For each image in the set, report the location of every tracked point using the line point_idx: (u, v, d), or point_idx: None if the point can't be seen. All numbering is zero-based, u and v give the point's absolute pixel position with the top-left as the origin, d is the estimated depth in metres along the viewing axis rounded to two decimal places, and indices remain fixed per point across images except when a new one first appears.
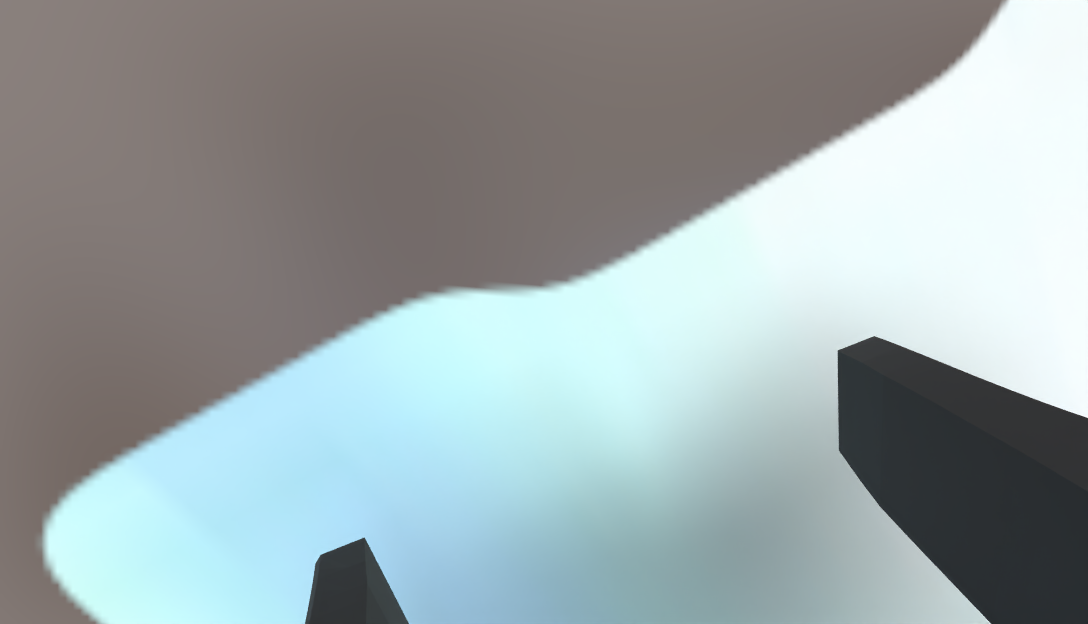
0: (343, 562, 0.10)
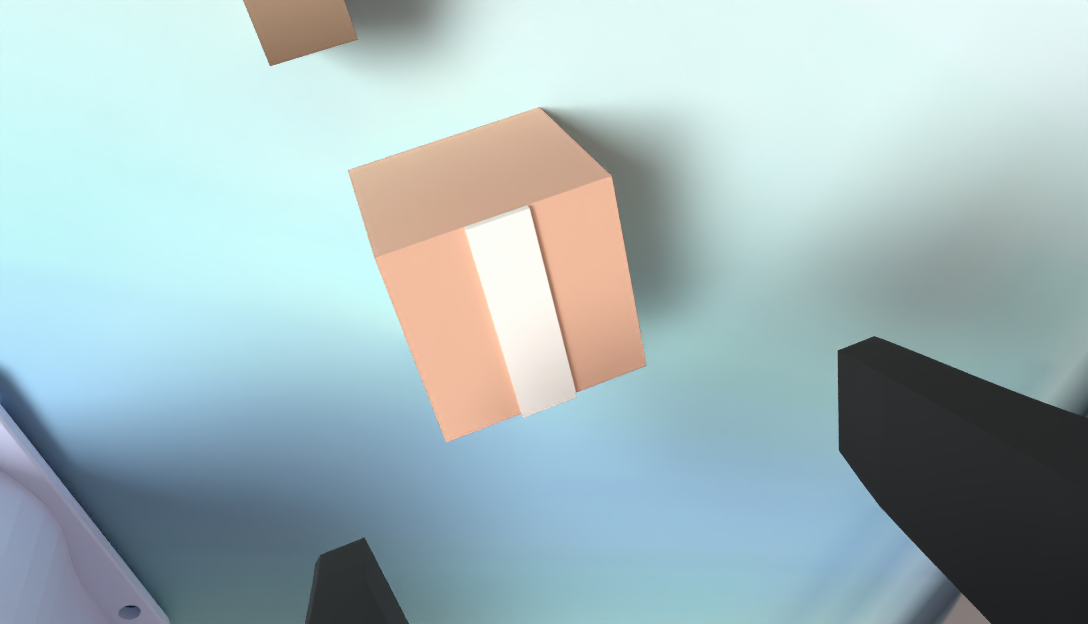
0: (343, 562, 0.10)
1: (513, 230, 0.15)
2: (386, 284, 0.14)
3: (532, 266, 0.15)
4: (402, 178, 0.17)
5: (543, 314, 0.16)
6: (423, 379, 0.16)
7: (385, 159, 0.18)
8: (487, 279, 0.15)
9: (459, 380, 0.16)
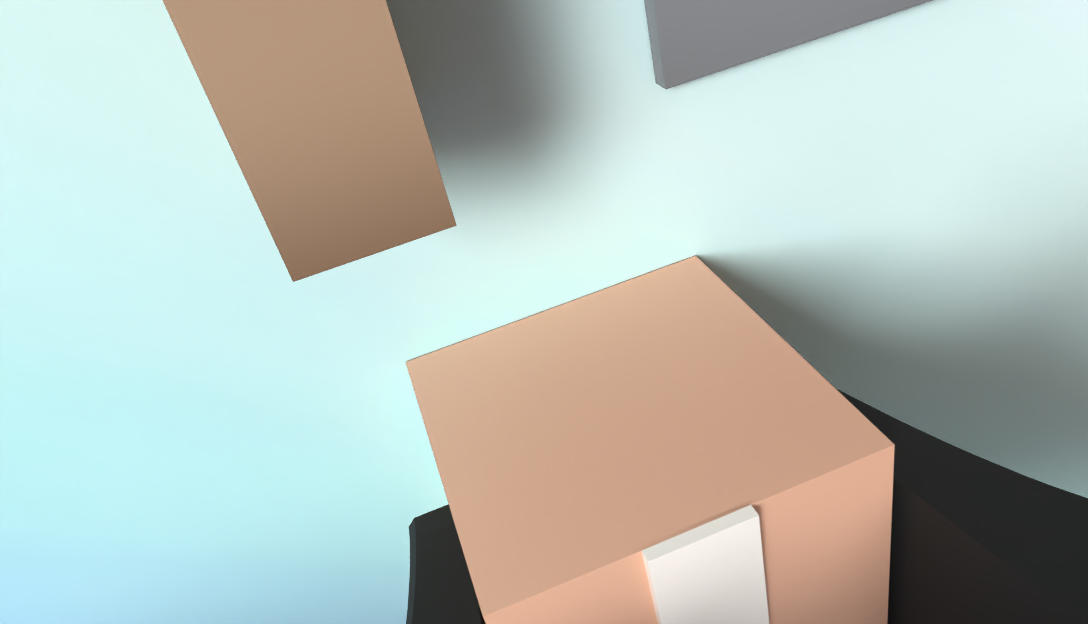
0: (440, 523, 0.10)
1: (726, 551, 0.08)
2: None
3: (746, 593, 0.09)
4: (500, 397, 0.10)
5: None
6: None
7: (463, 345, 0.12)
8: None
9: None
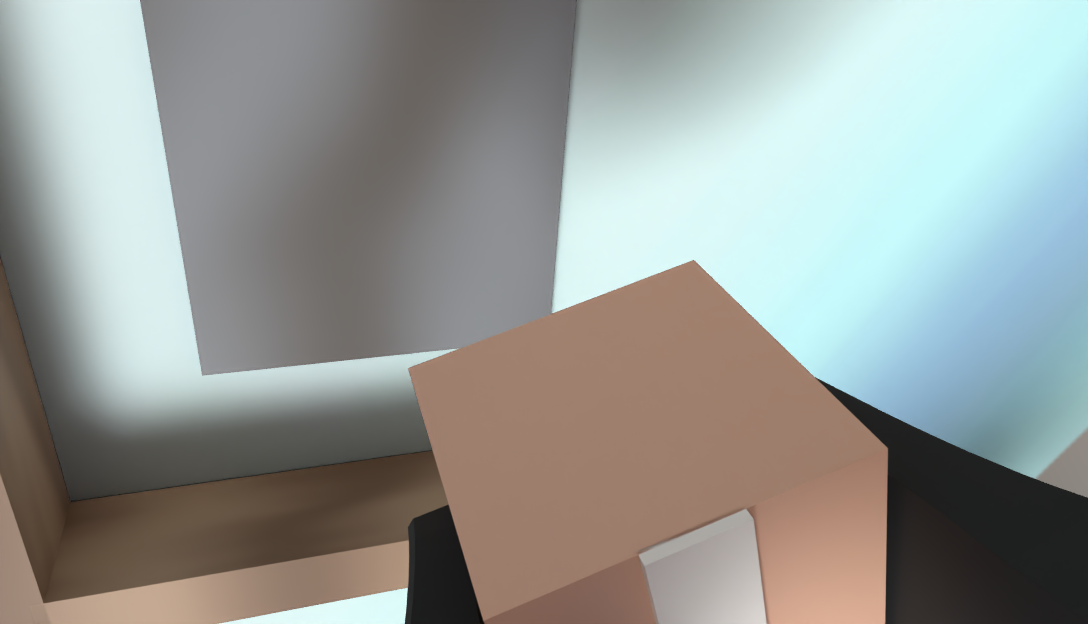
0: (438, 524, 0.10)
1: (721, 553, 0.08)
2: None
3: (743, 595, 0.09)
4: (500, 402, 0.11)
5: None
6: None
7: (465, 350, 0.12)
8: None
9: None
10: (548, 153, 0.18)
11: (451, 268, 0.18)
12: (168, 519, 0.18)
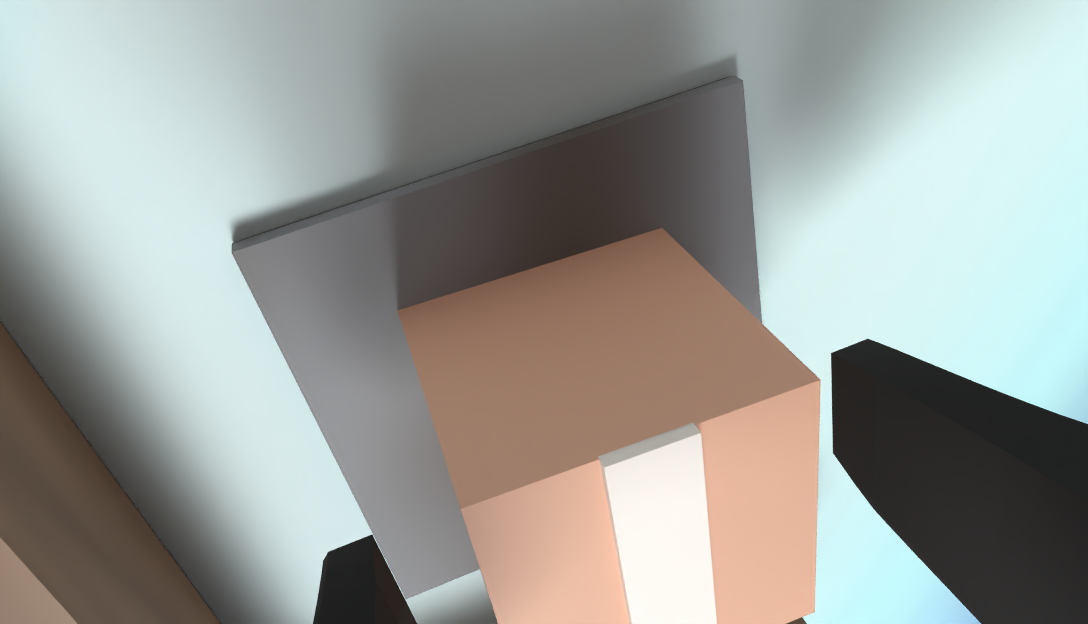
0: (351, 559, 0.10)
1: (672, 464, 0.09)
2: (474, 543, 0.09)
3: (690, 507, 0.10)
4: (482, 340, 0.12)
5: (693, 567, 0.11)
6: None
7: (450, 297, 0.13)
8: (624, 530, 0.10)
9: None
10: (738, 263, 0.14)
11: None
12: None
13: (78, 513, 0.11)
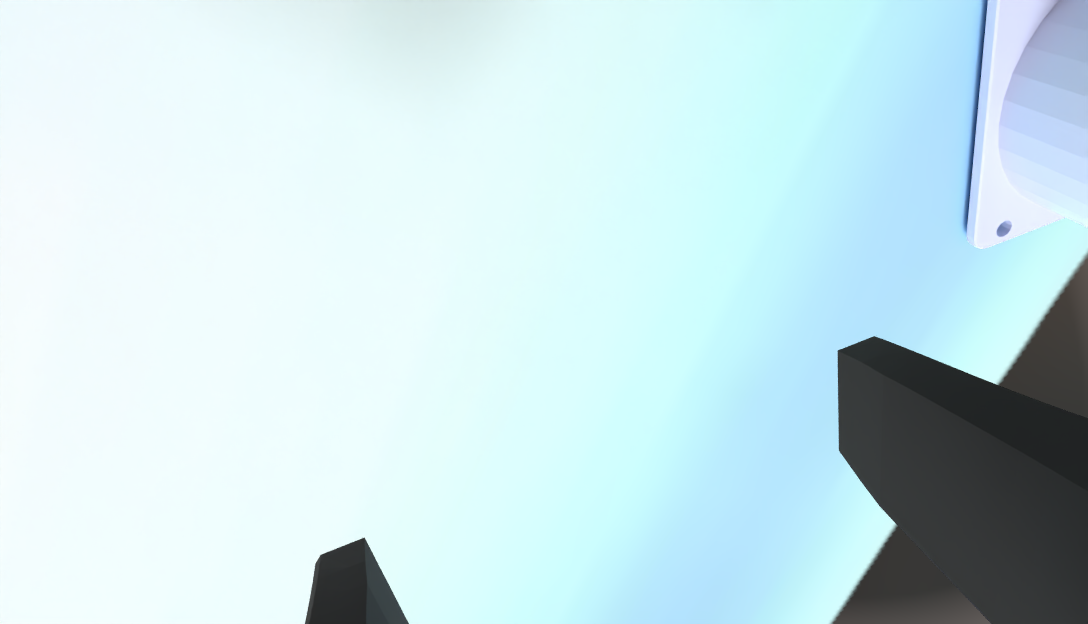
0: (343, 562, 0.10)
1: None
2: None
3: None
4: None
5: None
6: None
7: None
8: None
9: None
10: None
11: None
12: None
13: None
